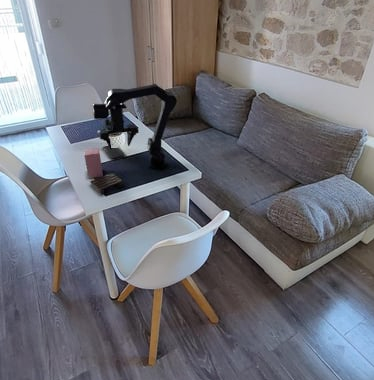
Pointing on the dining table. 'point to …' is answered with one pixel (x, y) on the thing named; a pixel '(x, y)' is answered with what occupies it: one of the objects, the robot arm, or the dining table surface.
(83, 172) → the dining table surface
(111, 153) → the phone
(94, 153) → the box
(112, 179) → the rack
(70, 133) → the dining table surface
